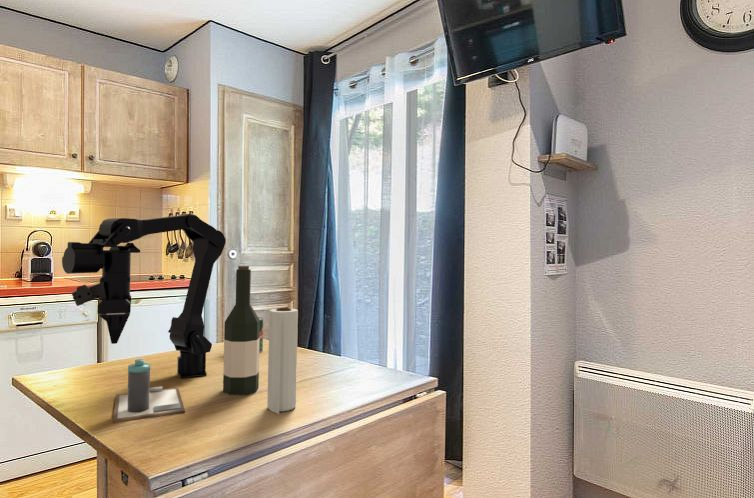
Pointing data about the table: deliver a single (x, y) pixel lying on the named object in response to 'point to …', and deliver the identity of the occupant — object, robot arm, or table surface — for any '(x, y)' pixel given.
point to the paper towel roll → (282, 359)
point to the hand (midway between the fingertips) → (115, 339)
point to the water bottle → (138, 386)
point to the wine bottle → (241, 341)
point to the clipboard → (150, 405)
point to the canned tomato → (261, 335)
